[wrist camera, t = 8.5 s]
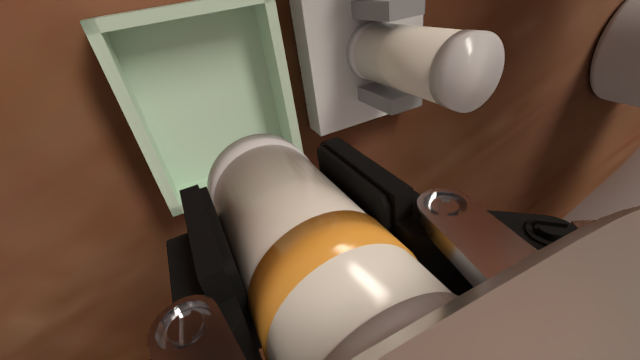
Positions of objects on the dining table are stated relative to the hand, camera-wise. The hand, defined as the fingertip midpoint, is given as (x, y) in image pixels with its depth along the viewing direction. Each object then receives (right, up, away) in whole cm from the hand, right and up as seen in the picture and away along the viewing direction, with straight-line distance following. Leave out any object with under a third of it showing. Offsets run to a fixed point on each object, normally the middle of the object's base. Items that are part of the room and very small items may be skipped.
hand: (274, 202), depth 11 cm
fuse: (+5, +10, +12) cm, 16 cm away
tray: (-6, +6, +11) cm, 13 cm away
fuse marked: (-1, +1, +1) cm, 2 cm away
